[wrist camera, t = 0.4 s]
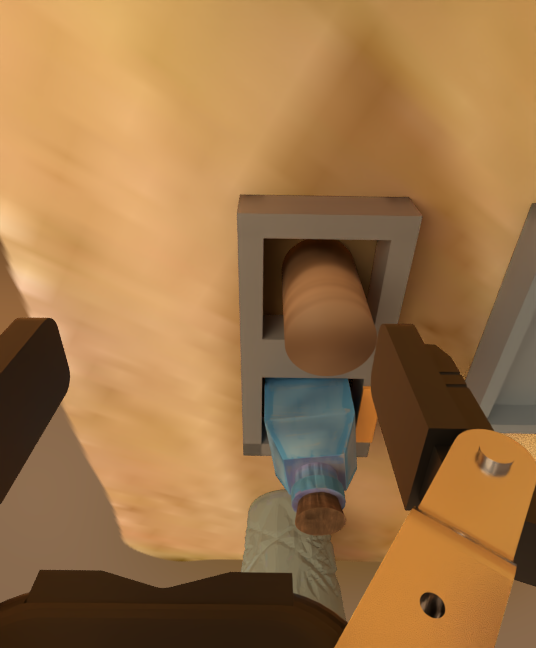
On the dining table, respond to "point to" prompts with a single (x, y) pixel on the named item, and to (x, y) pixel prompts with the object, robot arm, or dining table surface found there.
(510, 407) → the tray
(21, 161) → the dining table surface
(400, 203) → the slot holder
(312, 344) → the walnut peg
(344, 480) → the perfume bottle
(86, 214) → the dining table surface
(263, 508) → the grey cup
